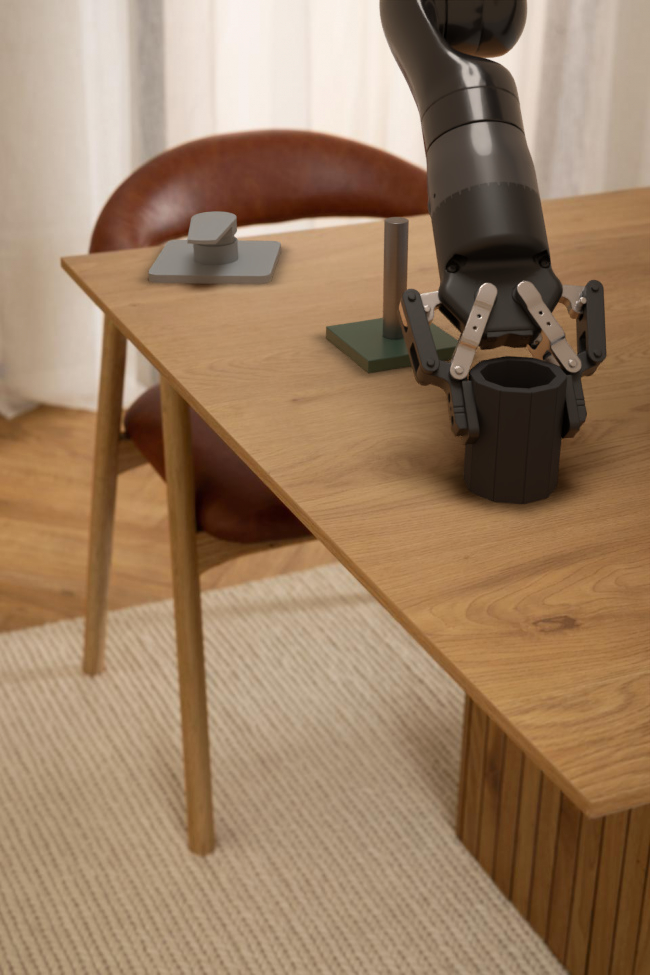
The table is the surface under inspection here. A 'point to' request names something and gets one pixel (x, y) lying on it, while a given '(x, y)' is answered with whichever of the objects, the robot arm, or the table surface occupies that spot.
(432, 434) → the table surface
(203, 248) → the shower valve
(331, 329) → the holder
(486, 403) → the faceted pencil cup
